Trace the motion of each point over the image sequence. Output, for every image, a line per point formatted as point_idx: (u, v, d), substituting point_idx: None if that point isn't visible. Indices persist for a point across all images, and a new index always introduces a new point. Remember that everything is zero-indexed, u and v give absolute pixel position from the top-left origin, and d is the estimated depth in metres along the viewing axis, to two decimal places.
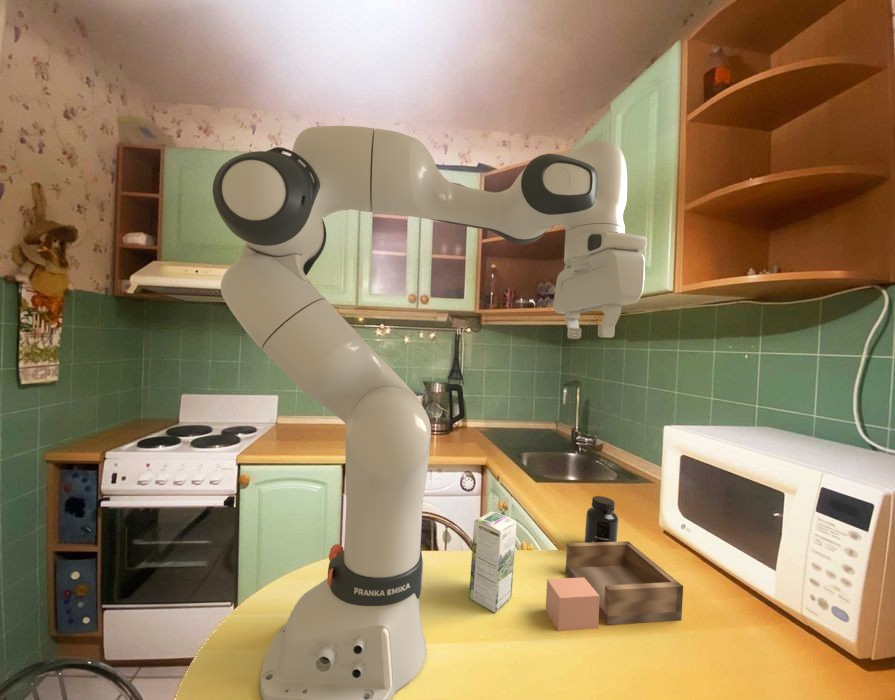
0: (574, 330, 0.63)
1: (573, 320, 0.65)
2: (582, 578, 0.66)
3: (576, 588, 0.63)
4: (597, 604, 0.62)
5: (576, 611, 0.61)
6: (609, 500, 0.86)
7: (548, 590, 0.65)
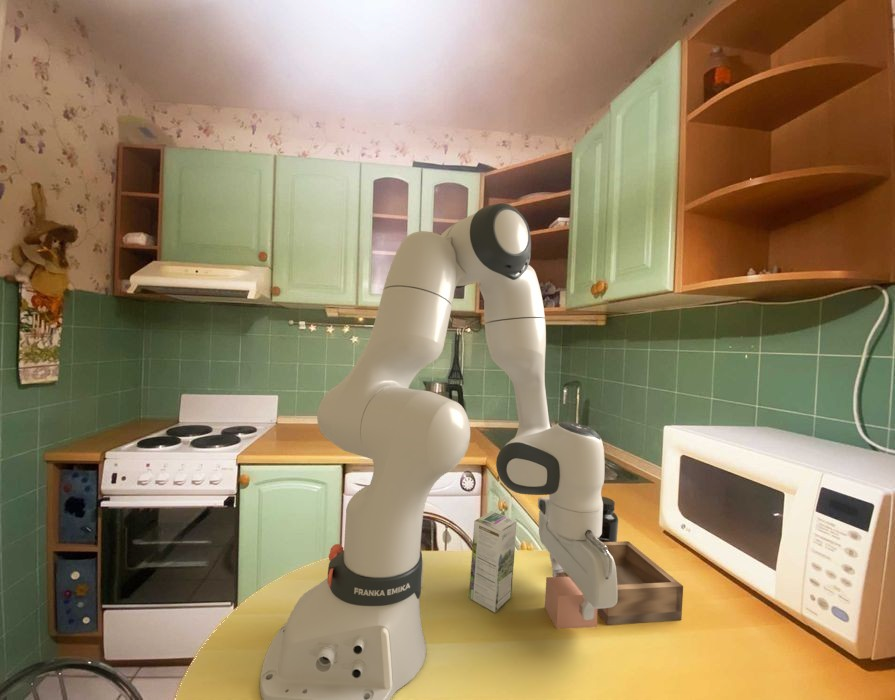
0: None
1: None
2: None
3: (575, 586, 0.64)
4: None
5: (574, 609, 0.62)
6: (609, 500, 0.86)
7: (547, 588, 0.66)
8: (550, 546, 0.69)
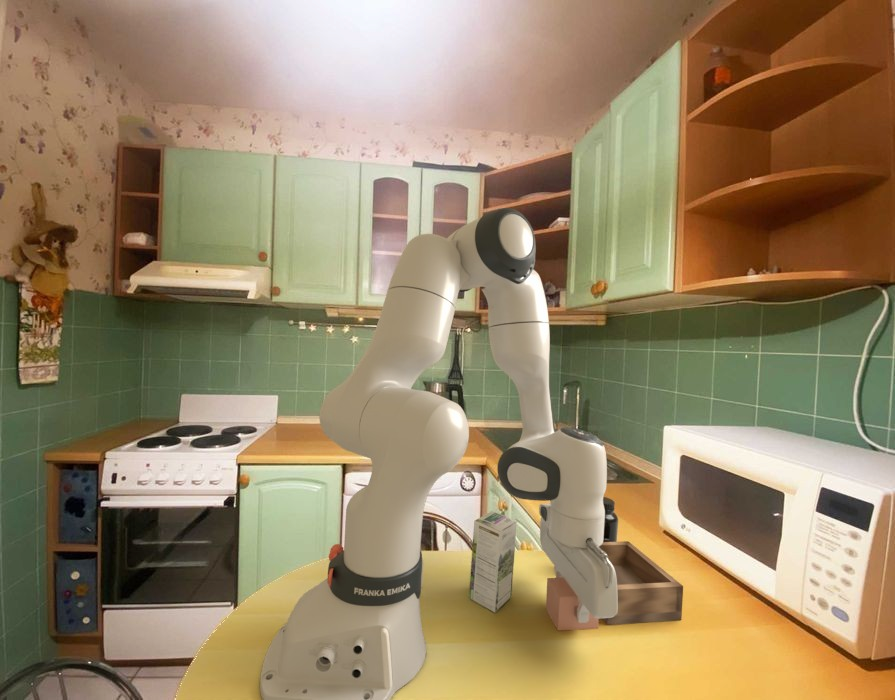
0: None
1: None
2: None
3: None
4: None
5: None
6: (609, 500, 0.86)
7: (548, 589, 0.65)
8: (551, 553, 0.68)
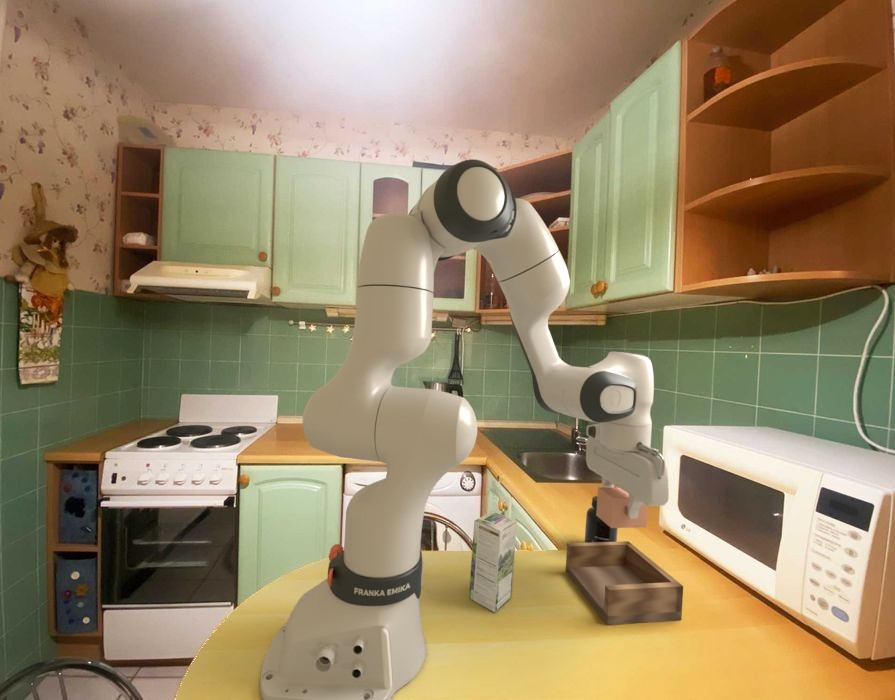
0: None
1: None
2: None
3: (626, 493, 0.71)
4: (645, 505, 0.69)
5: None
6: None
7: (599, 497, 0.72)
8: (599, 467, 0.75)
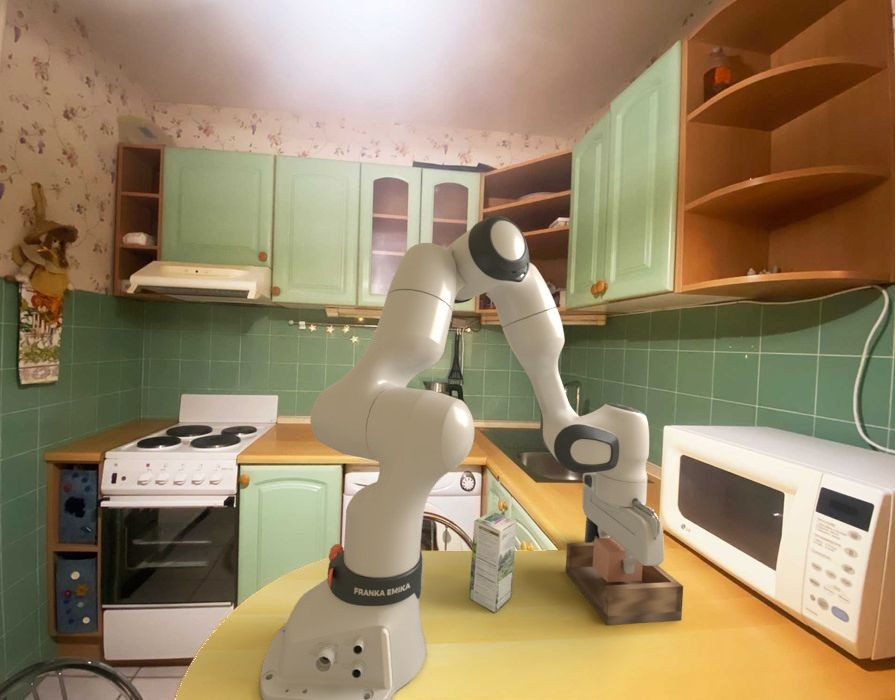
0: None
1: None
2: None
3: None
4: None
5: None
6: None
7: (595, 548, 0.73)
8: (595, 517, 0.76)
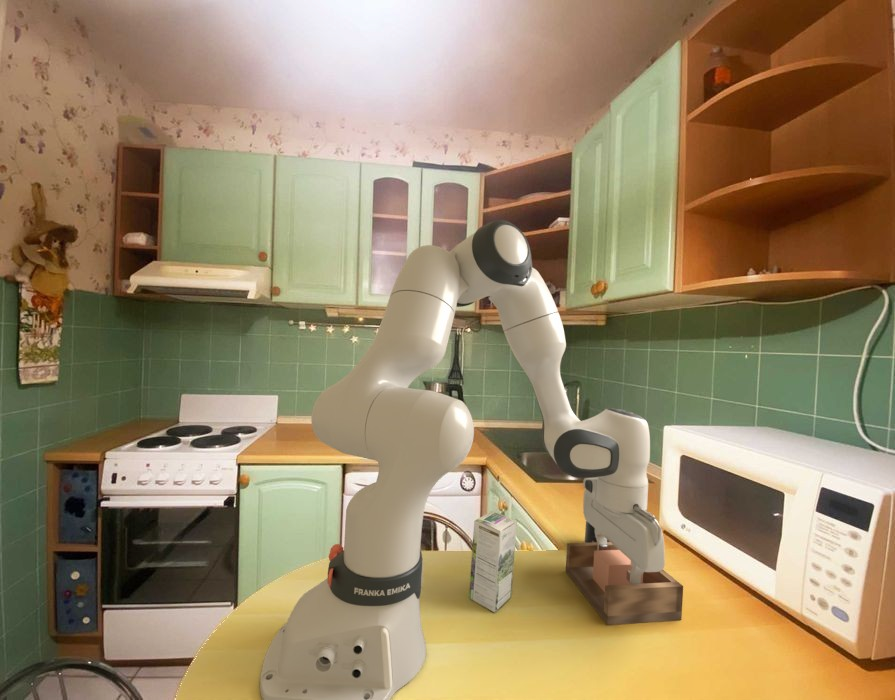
0: None
1: None
2: None
3: (622, 558, 0.71)
4: None
5: (623, 577, 0.68)
6: None
7: (595, 560, 0.72)
8: (596, 522, 0.75)
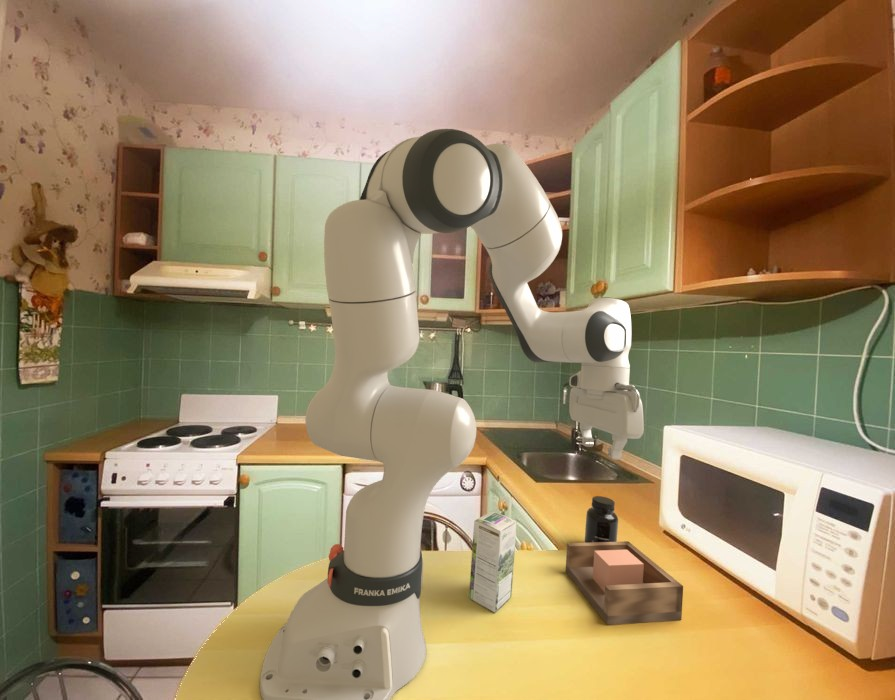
0: None
1: None
2: (625, 550, 0.74)
3: (622, 558, 0.71)
4: (641, 571, 0.69)
5: (623, 577, 0.68)
6: (609, 500, 0.86)
7: (595, 560, 0.72)
8: (581, 415, 0.78)
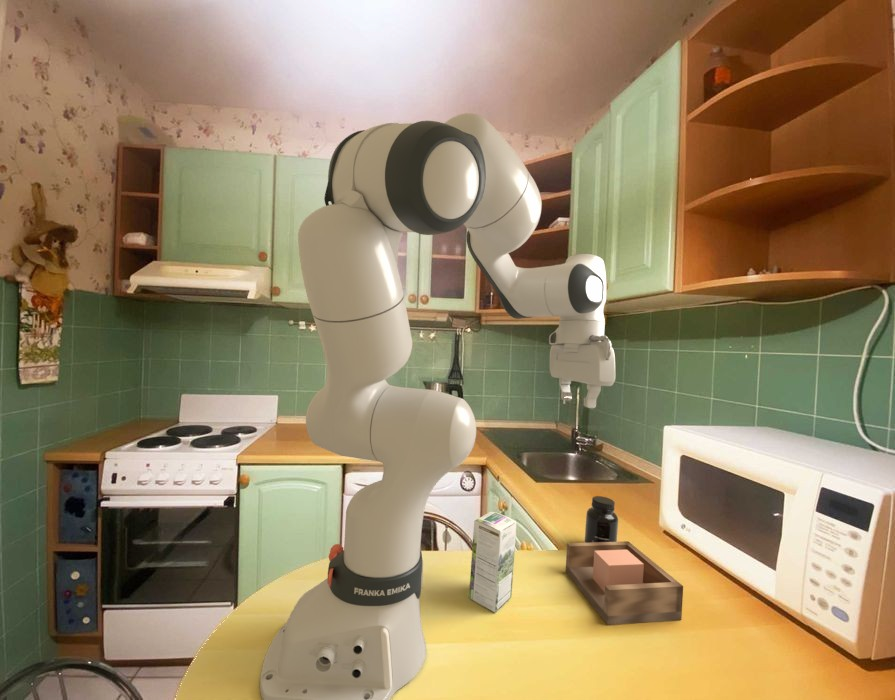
0: None
1: None
2: (625, 550, 0.74)
3: (622, 558, 0.71)
4: (641, 571, 0.69)
5: (623, 577, 0.68)
6: (609, 500, 0.86)
7: (595, 560, 0.72)
8: (559, 371, 0.81)
